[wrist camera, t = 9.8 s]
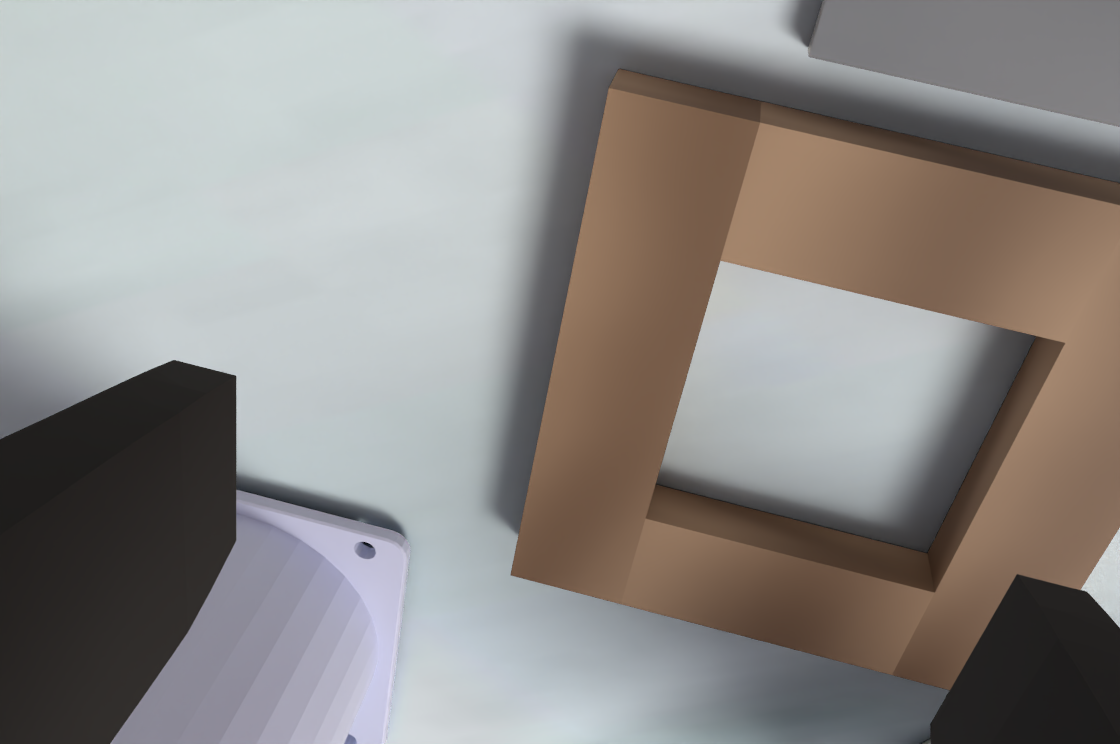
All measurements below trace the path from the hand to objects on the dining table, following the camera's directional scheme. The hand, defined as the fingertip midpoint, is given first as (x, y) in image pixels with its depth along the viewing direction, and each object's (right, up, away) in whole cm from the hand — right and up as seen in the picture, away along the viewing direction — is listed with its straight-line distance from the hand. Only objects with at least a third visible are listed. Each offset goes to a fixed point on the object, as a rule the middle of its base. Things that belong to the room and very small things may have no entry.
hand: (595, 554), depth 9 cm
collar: (+5, +1, +11) cm, 12 cm away
